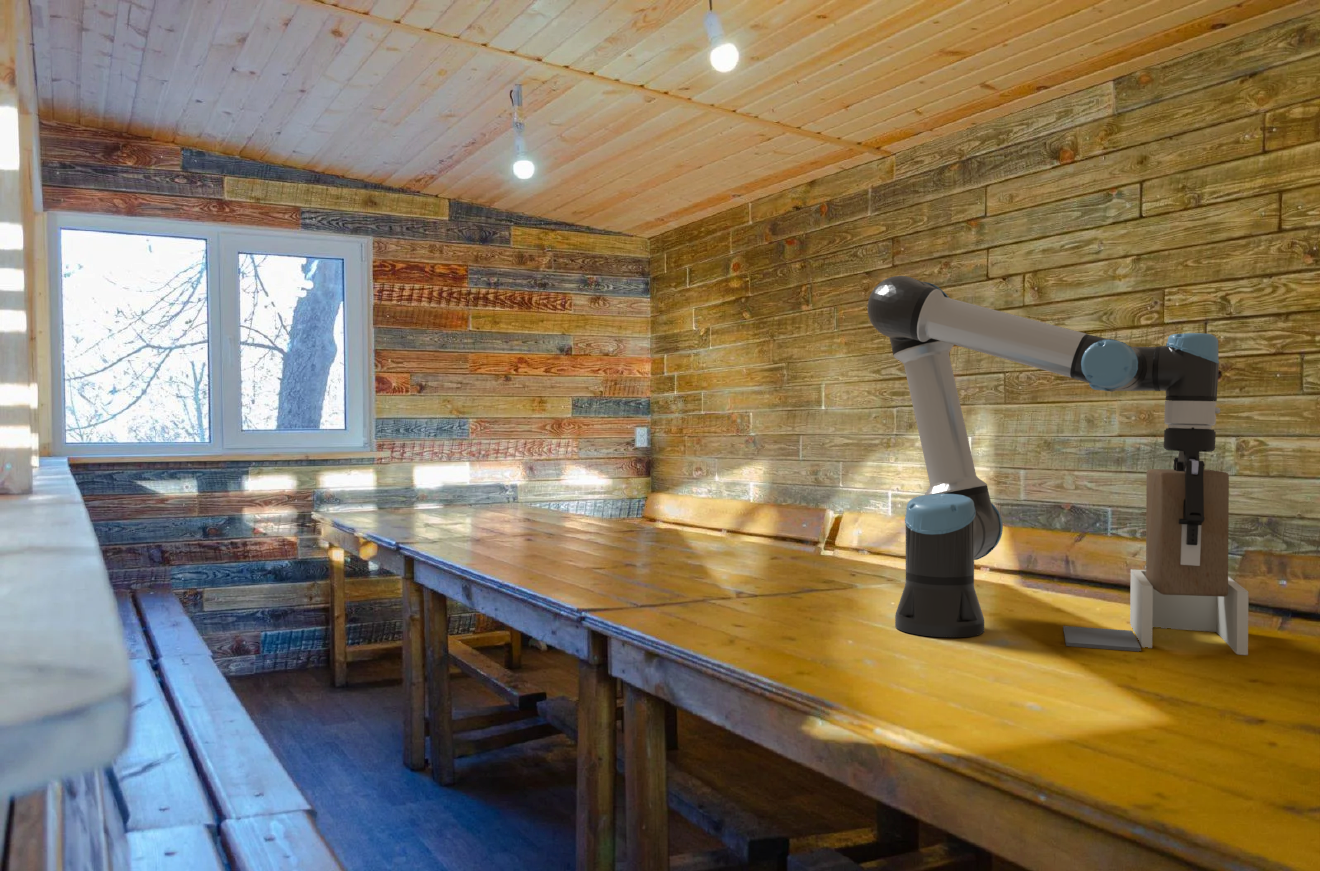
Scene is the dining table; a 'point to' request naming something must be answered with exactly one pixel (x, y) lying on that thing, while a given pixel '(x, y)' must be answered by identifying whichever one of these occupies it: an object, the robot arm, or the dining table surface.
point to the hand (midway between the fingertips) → (1184, 560)
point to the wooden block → (1166, 534)
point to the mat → (1101, 638)
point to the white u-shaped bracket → (1189, 612)
